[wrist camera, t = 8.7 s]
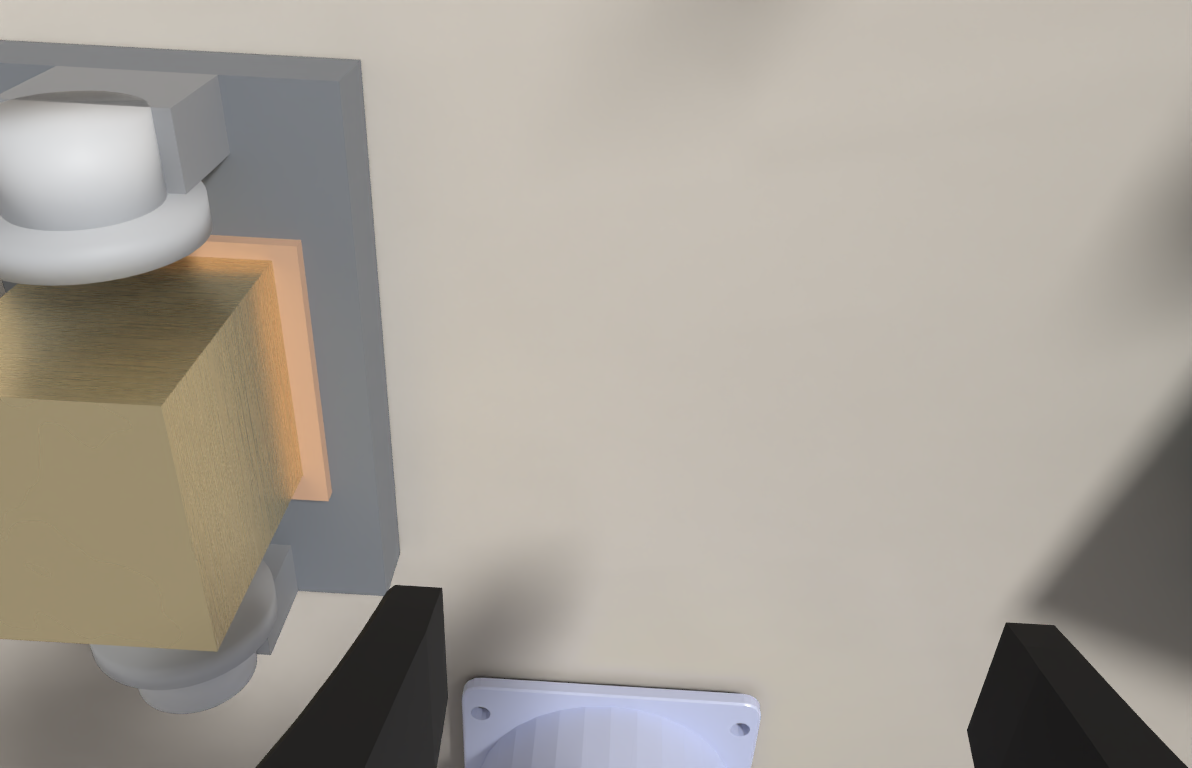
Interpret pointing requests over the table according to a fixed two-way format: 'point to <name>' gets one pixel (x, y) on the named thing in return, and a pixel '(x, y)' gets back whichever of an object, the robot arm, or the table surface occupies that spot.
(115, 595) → the coupling block
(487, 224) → the table surface
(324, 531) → the stand
